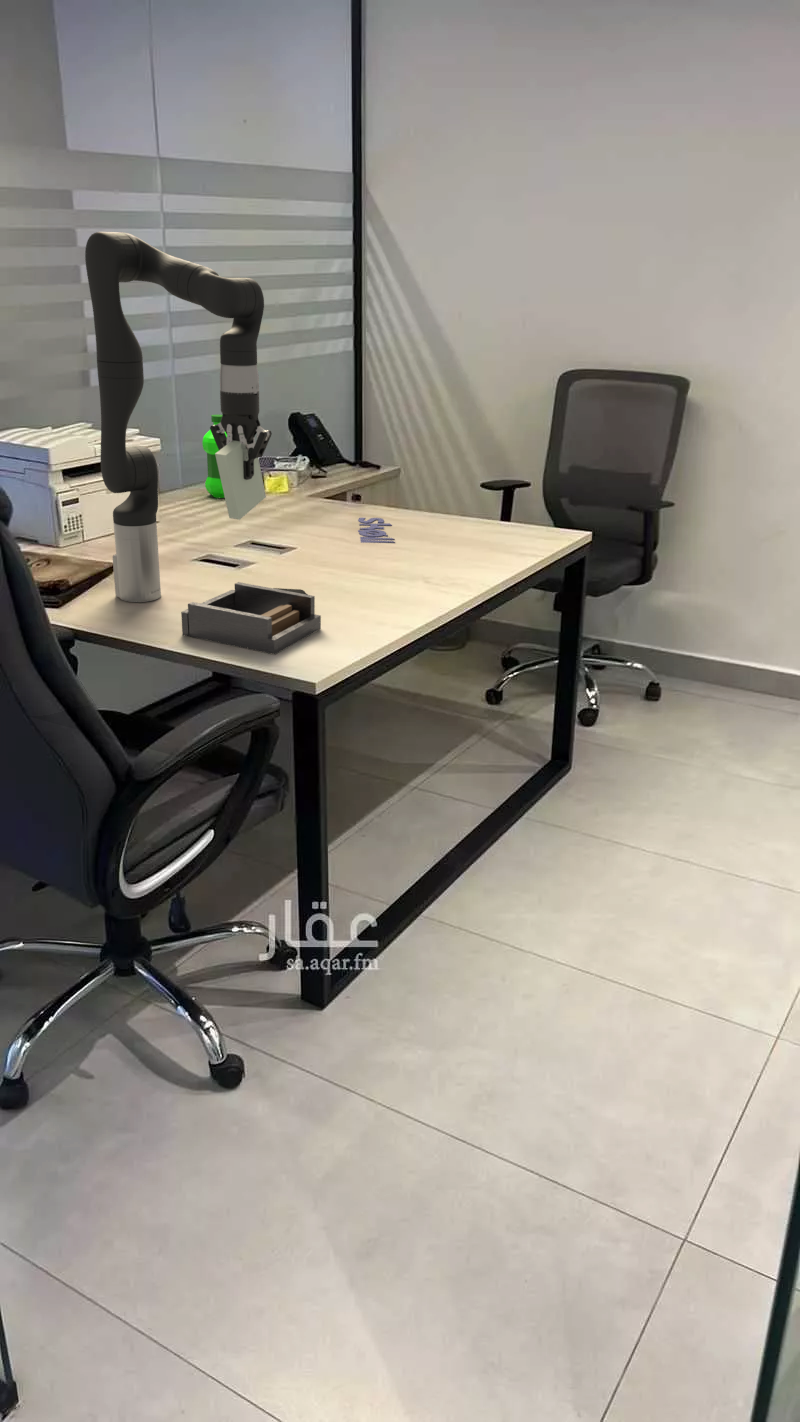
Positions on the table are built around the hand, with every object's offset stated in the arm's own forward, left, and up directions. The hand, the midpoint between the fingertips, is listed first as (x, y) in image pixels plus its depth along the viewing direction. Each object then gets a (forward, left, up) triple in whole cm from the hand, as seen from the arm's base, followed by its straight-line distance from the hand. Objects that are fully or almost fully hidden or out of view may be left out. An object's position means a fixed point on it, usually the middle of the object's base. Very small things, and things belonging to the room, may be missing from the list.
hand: (241, 477), depth 214 cm
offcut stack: (+10, -3, -31) cm, 33 cm away
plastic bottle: (-77, +101, -31) cm, 130 cm away
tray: (+4, -3, -31) cm, 31 cm away
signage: (-15, +88, -31) cm, 95 cm away
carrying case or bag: (+1, +14, -32) cm, 35 cm away
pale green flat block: (0, +2, -6) cm, 7 cm away
